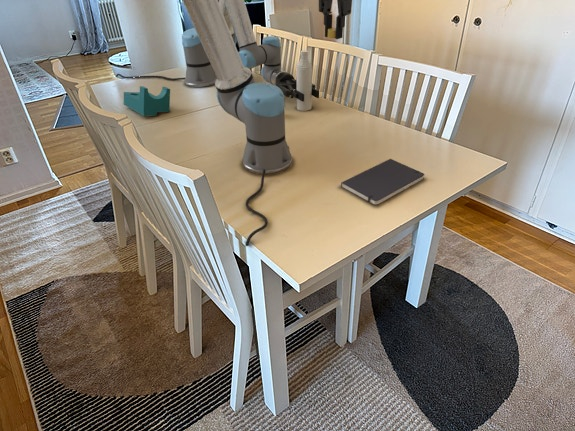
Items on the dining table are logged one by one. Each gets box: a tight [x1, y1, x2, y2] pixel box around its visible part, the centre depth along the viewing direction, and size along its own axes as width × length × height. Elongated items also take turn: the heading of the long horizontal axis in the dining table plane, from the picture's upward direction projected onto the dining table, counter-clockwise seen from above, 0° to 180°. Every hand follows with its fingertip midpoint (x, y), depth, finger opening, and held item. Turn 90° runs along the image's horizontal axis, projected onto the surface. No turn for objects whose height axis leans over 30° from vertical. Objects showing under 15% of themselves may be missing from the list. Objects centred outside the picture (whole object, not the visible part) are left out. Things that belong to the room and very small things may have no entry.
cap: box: [327, 27, 336, 39], centre depth 132 cm, size 4×4×2 cm
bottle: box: [295, 49, 313, 112], centre depth 157 cm, size 6×6×22 cm
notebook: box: [340, 158, 425, 206], centre depth 114 cm, size 13×2×21 cm
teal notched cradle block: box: [123, 85, 171, 117], centre depth 163 cm, size 18×11×10 cm, turn 43°
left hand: (310, 96), depth 156 cm, fingers closed on bottle, 6 cm apart
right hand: (333, 37), depth 133 cm, fingers closed on cap, 4 cm apart
